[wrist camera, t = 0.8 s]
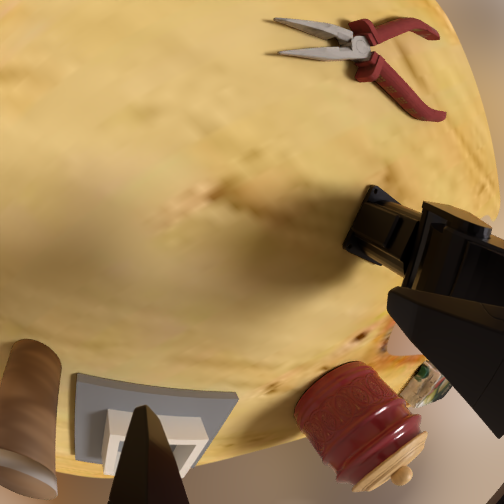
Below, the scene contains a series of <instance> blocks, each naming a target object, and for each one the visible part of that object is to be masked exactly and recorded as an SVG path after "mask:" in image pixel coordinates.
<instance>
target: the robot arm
mask: <svg viewBox="0 0 504 504" xmlns="http://www.w3.org/2000/svg"><path fill="white" fill-rule="evenodd" d="M374 189H375V190H374ZM422 208H423V209H422V213H420V212H418V211H415V210H413V209H410V208H408V207H405V206H402V205H401V204H400V203H399V202H397V201H396V200H395V199H394V198H392V197H391V196H390V195H388V194H387V193H386V192H385V191H383V190H382V189H381V188H379V187H378V186H375V185H372V186H370V188H369V190H368V192H367V195H366V197H365V199H364V201H363V204H362V206H361V208H360V210H359V212H358V214H357V217H356V219H355V221H354V223H353V225H352V227H351V229H350V231H349V233H348V235H347V238H346V240H345V242H344V244H343V248H344V249H345V250H346V251H348V252H350V253H352V254H355V255H357V256H359V257H361V258H364V259H366V260H368V261H370V262H373V263H375V264H377V265H379V266H382V265H384V266H385V267H387V268H389V269H390V270H392V271H393V272H395V273H397V274H398V275H400V276H401V277H403V278H404V279H403V282H402V286H401V287H399V286H397V287H395V288H393V289H391V290H390V291H389V292H388V299H387V311H388V313H389V314H390V316H391V317H392V318H393V319H394V321H395V322H396V323H397V324H398V326H399V327H400V328H401V330H402V331H403V332H404V333H405V335H406V336H407V337H408V338H409V340H410V341H411V342H412V343H413V344H414V345H415V346H416V347H417V348H418V349H419V350H420V351H421V353H422V354H423V355H424V356H425V357H426V358H427V359H428V360H429V361H430V362H431V363H432V364H433V365H434V366H435V367H436V368H437V370H438V371H439V372H440V373H441V374H442V375H443V376H444V377H445V378H446V379H447V380H448V382H449V383H450V384H451V385H452V386H453V387H454V388H455V389H456V390H457V391H458V393H459V394H460V395H461V396H462V397H463V398H464V399H465V400H466V401H467V403H468V404H469V405H470V406H471V407H472V408H473V410H474V411H475V412H476V413H477V414H478V415H479V417H480V418H481V419H482V420H483V421H484V423H485V424H486V425H487V426H488V427H489V429H490V430H491V431H492V432H493V433H494V435H495V436H496V437H497V438H498V439H500V438H501V437H502V436H503V435H504V240H503V239H501V238H499V237H496V236H494V235H492V234H491V231H492V227H491V226H489V225H488V224H486V223H485V222H483V221H482V220H480V219H479V218H477V217H476V216H474V215H473V214H471V213H469V212H467V211H464V210H461V209H459V208H456V207H453V206H450V205H446V204H440V203H434V202H427V201H423V204H422ZM348 245H349V246H348ZM109 500H110V501H108V504H189V501H188V498H187V495H186V492H185V489H184V486H183V483H182V479H181V476H180V473H179V469H178V466H177V463H176V460H175V457H174V455H173V452H172V450H171V447H170V445H169V442H168V440H167V437H166V434H165V432H164V429H163V426H162V424H161V421H160V419H159V418H158V416H157V415H156V414H155V413H154V412H153V411H152V410H151V409H150V407H149V406H148V405H142V406H139V407H136V408H135V409H134V411H133V414H132V417H131V421H130V424H129V427H128V430H127V434H126V437H125V441H124V444H123V447H122V451H121V454H120V458H119V462H118V465H117V469H116V473H115V476H114V480H113V484H112V488H111V492H110V496H109ZM486 504H504V483H503V484H502V486H501V487H500V488H499V489H498V491H497V492H496V493H495V494H494V495H493V496H492V498H491V499H490V500H489V501H488V502H487V503H486Z"/></svg>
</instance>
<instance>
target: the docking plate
mask: <svg viewBox="0 0 504 504" xmlns="http://www.w3.org/2000/svg"><path fill="white" fill-rule="evenodd" d="M238 400H239V398H238V396H237V394H236V392H212V391H196V390H184V389H173V388H164V387H155V386H148V385H140V384H133V383H127V382H121V381H115V380H110V379H104V378H99V377H94V376H89V375H85V374H80V373H77V384H76V400H75V460H78V461H84V462H90V463H97V464H103V472H104V474H105V475H115V473H116V469H117V465H118V462H119V458H120V454H121V451H122V447H123V444H124V441H125V437H126V434H127V430H128V427H129V424H130V421H131V417H132V414H133V411H134V409H135V408H136V407H139V406H142V405H148V406H149V407H150V409H151V410H152V411H153V412H154V413H155V414H156V415H157V416H158V418H159V419H160V421H161V424H162V426H163V429H164V432H165V434H166V437H167V440H168V442H169V445H170V447H171V450H172V452H173V455H174V457H175V460H176V463H177V466H178V469H179V473H180V476H181V478H183V477H184V476H185V474H186V473H187V472H188V470H189V469H190V468H194V467H195V465H196V464H197V463H198V461H199V460H200V458H201V457H202V455H203V454H204V452H205V451H206V449H207V448H208V446H209V445H210V443H211V442H212V440H213V439H214V437H215V436H216V434H217V433H218V431H219V430H220V428H221V427H222V425H223V424H224V422H225V421H226V419H227V417H228V416H229V414H230V413H231V411H232V410H233V408H234V406H235V405H236V403H237V402H238Z"/></svg>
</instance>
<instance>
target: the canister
mask: <svg viewBox="0 0 504 504" xmlns="http://www.w3.org/2000/svg"><path fill="white" fill-rule="evenodd" d="M294 417H295V419H296V422H297V426H298V427H299V428H300V430H301V432H302V433H304V434H305V435H306V437H307V438H308V440H309V441H310V443H311V444H312V445H313V447H314V448H315V450H316V451H317V452H318V454H319V456H320V457H321V458H322V461H323V463H324V465H327V466H330V467H331V468H332V469H333V470H334V472H335V473H336V474H337V476H336V482H337V483H349V484H351V485H353V486H354V487H353V488H352V491H353V492H360V491H371V490H373V489H375V488H377V487H379V486H380V485H382V484H383V483H385V482H386V481H388V480H389V479H390V478H391V480H392V482H393V483H394V484H395V485H398V486H400V485H401V486H402V485H404V484H406V483H408V482H409V481H410V480H411V478H412V476H413V473H412V470H411V469H410V468H409V467H408V466H407V465H408V464H409V463H410V462H411V461H412V460H413V459H414V458H415V457H416V456H417V455H418V454H419V453H420V452H421V451H422V450H423V449H424V443H425V440H426V437H427V434H428V433H427V432H426V431H424V432H422V433H421V430H420V427H419V426H420V423H421V415H419V414H412V413H411V412H410V411H409V410H408V408H407V407H406V401H405V399H403V398H400V397H399V396H398V395H397V394H396V393H395V392H394V391H393V390H392V389H391V388H390V387H389V386H388V385H387V384H386V383H385V382H384V381H383V380H382V379H381V378H380V377H379V375H378V373H377V372H376V371H375V370H374V369H373V368H372V367H370V366H368V365H366V364H365V363H363V362H359V361H356V362H351V363H347V364H344V365H342V366H340V367H338V368H336V369H334V370H332V371H331V372H329V373H327V374H326V375H324V376H323V377H322V378H320V379H319V380H318V381H317V382H315V383H314V384H313V385H312V386H311V387H310V388H309V389H308V390H307V391H306V392H305V393H304V395H303V396H302V397H301V399H300V400H299V402H298V403H297V405H296V407H295V411H294Z"/></svg>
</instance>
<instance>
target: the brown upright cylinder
mask: <svg viewBox="0 0 504 504" xmlns="http://www.w3.org/2000/svg"><path fill="white" fill-rule="evenodd" d="M61 369H62V367H61V362H60V360H59V358H58V357H57V355H56V354H55V353H54V352H53V351H52V350H51V349H50V348H49V347H47V346H46V345H44V344H43V343H40V342H38V341H35V340H30V339H23V340H19V341H17V342H16V343H15V344H14V345H13V347H12V350H11V353H10V356H9V358H8V361H7V365H6V368H5V371H4V374H3V378H2V381H1V384H0V485H1V486H3V487H5V488H7V489H9V490H11V491H13V492H15V493H18V494H21V495H24V496H27V497H31V498H36V499H44V500H49V499H54V498H56V497H57V480H56V471H55V438H56V417H57V404H58V394H59V385H60V377H61Z"/></svg>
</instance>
